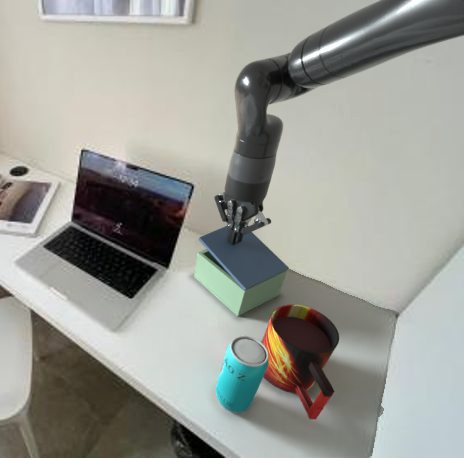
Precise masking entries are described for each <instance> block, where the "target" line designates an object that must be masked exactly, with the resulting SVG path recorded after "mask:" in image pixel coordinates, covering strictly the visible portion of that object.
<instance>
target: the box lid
mask: <svg viewBox="0 0 464 458" xmlns="http://www.w3.org/2000/svg"><path fill="white" fill-rule="evenodd" d="M227 233H228V226H227V225H225V226H223V227H220V228H218V229H216V230H213V231H211V232H209V233H206V234H204V235H202V236H199V237H198V239H197V240H198V241H199V243H200V244H201V245H203V247H204V248H205V249H207V250H208V251H209V252H210V253H211V254H212V255H213V256H214V258H215V259H216V260H217V261H218V262H219V263H220V264H221V265H222V266H223V268H224V269H225V270H226V271H227V272H228V273H229V274H230V275H231V276H232V278H233V279H234V280H235V281H236V282H237V283H238V284H239V285H240V286H241V288H242V289H243V290H244V291H245V290H248V289H250V288H252V287H254V286H256V285H258V284H260V283H262V282H264V281H266V280H268V279H270V278H272V277H274V276H276V275H278V274H280V273H282V272H284V271H286V270H287V271H288V270H289V269H290V266H288V265H287V264H286V263H285V262H284V261H283V260H282V259H281V258H280V257H279V256H278V255H276V254H275V253H274V251H272V250H271V248H269V247H268V246H267V245H266V244H265V243H264V242H263V241H262V240H261V239H260V238H259V237H258V236H257V235H255V234H254V232H253V231H252V232H250V233H248V234H245V235H243V238H242V241H241V242H239V243H237V244H235V245H232V244H231V243H229V242H228V241H227V240H228V238H227Z"/></svg>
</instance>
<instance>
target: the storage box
mask: <svg viewBox="0 0 464 458" xmlns="http://www.w3.org/2000/svg"><path fill="white" fill-rule="evenodd" d="M287 274H288V270H286V271H284V272H282V273H280V274H278V275H276V276H274V277H272V278H270V279H268V280H266V281H264V282H262V283H260V284H258V285H256V286H254V287H252V288H250V289H248V290H245V291H244V290H243V289H242V288H241V286H240V285H239V284H238V283H237V282H236V281H235V280H234V279H233V278H232V276H231V275H230V274H229V273H228V272H227V271H226V270H225V269H224V268H223V266H222V265H221V264H220V263H219V262H218V261H217V260H216V259H215V258H214V256H213V255H212V254H211V253H210V252H209V251H208V250H207V249H206V248H205V249H203V250H201V251H198V252H197V254H196V261H195V268H194V274H193V277H194V279H196V280H197V281H198V282H199V283H200V284H201V285H202V286H203V287H204V288H205V289H207V290H208V291H209V292H210V293H211V294H212V295H213V296H214V297H216V298H217V300H219V301H220V302H221V303H222V304H223V305H224V306H225V307H227V308H228V309H229V311H231V312H232V313H233V314H234V315H235V316H236V317H240V316H241V315H243V314H245V313H248V312H249V311H251V310H253V309H255V308H257V307H259V306H261V305H263V304H264V303H266V302H269V301H270V300H272V299H274V298H277V297H278V296H279V294H280V292H281V289H282V286H283V283H284V281H285V279H286V276H287Z"/></svg>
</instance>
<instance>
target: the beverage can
mask: <svg viewBox="0 0 464 458" xmlns="http://www.w3.org/2000/svg"><path fill="white" fill-rule="evenodd" d="M261 342H262V341H260V340H259V339H257V338H255V337H253V336H249V335H239V336H237V337H235V338H233V339H232V341H231V342H230V343H229V344H228V345H227V348H226V352H225V354H224V358H223V362H222V365H221V368H220V372H219V376H218V379H217V383H216V385H215V394H216V398H217V400H218V402H219V404H220V405H221V406H222V407H223V408H224V409H225V410H226V411H228V412H230V413H234V414H238V413H239V414H240V413H242V412H246V411H247V410H249V409H250V408H251V406H252V404H253V402H254V400H255V397H256V394H257V392H258V390H259V387H260V385H261V383H262V381H263V379H264V377H263V376H264V374H265V371H266V369H267V367H268V362H269V361H268V356H269V355H268V351H267V349H266V347H265V346H264V345H263V344H262V343H261Z"/></svg>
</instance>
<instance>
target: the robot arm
mask: <svg viewBox="0 0 464 458" xmlns="http://www.w3.org/2000/svg"><path fill="white" fill-rule="evenodd" d="M461 37H464V0H378V1H375V2H372V3H371V4H368V5H367V6H364V7H362V8H360V9H358V10H356V11H354V12H352V13H349V14H347V15H346V16H344V17H342V18H340V19H338V20H335V21H333V22H332V23H330V24H328V25H327V26H325V27H323V28H320V29H319V30H317V31H315V32H313V33H312V34H310V35H308V36H306V37H305V38H303V39H302V40H301V41H300V42H298V43H297V44H296V45H295V46H294V47H293V49H292V50H291V51H290V52H287V53H285V54H281V55H277V56H271V57H268V58H261V59H259V60H254V61H251V62H249V63H247V64H246V65H244V67H243V68H242V69H241V71H240V72H239V74H238V76H237V77H236V80H235V84H234V90H233V92H234V101H235V110H236V122H237V131H236V136H235V139H234V146H233V150H232V153H231V156H230V159H229V164H228V168H227V174H226V179H225V184H224V191H223V192H221V193H218V194H216V195H214V197H213V198H214V201H215V204H216V207H217V210H218V212H219V215H220V218H221V220H222V222H223V223H226V226H228V233H227V238H228V240H227V241H228V242H229V243H231V244H232V245H235V244H237V243H239V242H241V241H242V238H243V235H245V234H248V233H250V232H252V233H253V232H254V231H257V230H259V229H261V228H263V227H266V226H269V225H270V224H272V220H271V218H270V217H265V215H264V213H263V211H264V200H265V199H266V197H267V195H268V191H269V188H270V186H271V185H270V184H271V181H272V177H273V173H274V170H275V168H276V163H277V161H276V160H277V153H278V150H279V146H280V143H281V139H282V135H283V132H284V122H283V120H282V119H281V118H280V117H279V116H277V115H274V114H270V113H268V107H269V106H270V105H273V104H278V103H281V102H286V101H289V100H293V99H296V98H298V97H300V96H303V95H305V94H308V93H310V92H312V91H314V90H315V89H317V88H320V87H323V86H326V85H329V84H332V83H335V82H337V81H340V80H344V79H347V78H348V77H351V76H354V75H357V74H359V73H362V72H364V71H365V72H366V71H367V70H370V69H373V68H375V67H377V66H380V65H381V64H385V63H386V62H389V61H392V60H394V59H397V58H398V57H401V56H404V55H406V54H409V53H412V52H414V51H418V50H420V49H424V48H426V47H429V46H433V45H437V44H439V43H442V42H446V41H450V40H454V39H457V38H461ZM254 217H255V218H254ZM253 218H254V219H253ZM252 219H253V221H252ZM251 221H252V224H251V225H249V223H250V222H251Z"/></svg>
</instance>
